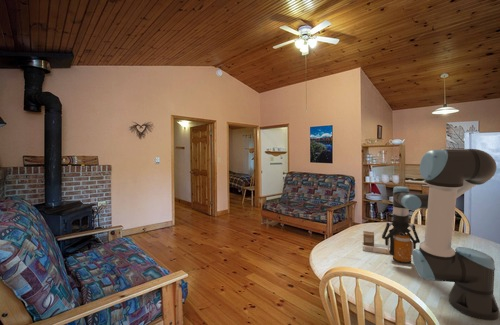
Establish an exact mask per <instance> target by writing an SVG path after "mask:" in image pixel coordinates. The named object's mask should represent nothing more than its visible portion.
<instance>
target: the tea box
mask: <svg viewBox="0 0 500 325" xmlns="http://www.w3.org/2000/svg"><path fill="white" fill-rule="evenodd" d="M362 236H363V237H362V238H363V241H362V242H363V243H362V246H363V245H366V246H374V244H375V232H374V231H367V230H364V231H363V234H362Z"/></svg>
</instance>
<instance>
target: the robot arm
mask: <svg viewBox="0 0 500 325" xmlns="http://www.w3.org/2000/svg"><path fill="white" fill-rule="evenodd" d="M497 167H498V166H497V163H496V160H495V159H494V157H493V156H492V155H491V154H489V153H488V152H486V151H484V150H481V149H476V148H463V149H461V148H460V149H458V148H456V149H454V148H447V149H445V148H444V149H443V148H440V149H432V150H429V151H428V150H427V151H426V153H424V154H423V156H421V160H420V163H419V172H420V173H419V175H420V177H421V178H422V179H423V180H424V181H425V184H426V185H427V186H428V187H429V188H428V193H410V188H409V187H407V186H402V185H401V186H399V185H398V186H394V187H393V189H392V190H393V191H392V222H390V221H386V222H385V224H386V226H385V228H384V230H383V233H382V234H381V238H382V239H383V240H385V241H384V245H387V251H388V252H389V245H390V237H391V236H392V235H391V233H390V232H389V229H390V227H391V226H392V227H393V228H394V229H393V228H391V229H393V230H395V229H396V230H397V229H398V228H399V229H401V231H406V234H408V236H410V238H411V241H412V252H411V256H412V262H413V265H414V268H415V270H416V272H417V274H418V275H419V277H420V278H421V279H423V280H427V281H432V282H435V281H436V282H449V283H454V284H453V285H452V287H451V289H450V292H449V294H448V302H449V305H451V307H453V308H454V309H456V310H457V311H459V312H460V313H463V314H465V315H467V316H470V317H473V318H476V319H480V320H485V321H486V320H487V321H492V320H493V321H495V320H497V319H499V317H500V308H499V306H498V303H497V301H496V297H495V296H494V295H495V294H494V287H495V270H496V265H495V260H494V259H493V257H492V256H491V255H489V254H487V253H485V252H483V251H480V250H477V249H474V248H471V247H465V246H456V247H455V249H453V247H452V243H453V242H452V241H453V232H454V221H455V213H456V205H457V204H456V203H457V198H459V197H461V196H462V195H464V194H465V193H467V192H468V191H470V190H471V189H472V188H474V187H475V186H479V185H484V184H485V183H487V182H488V181H489V180H491V179H492V178H493V177H494V176H495V175H496V171H497ZM419 209H420V210H426V209H427V210H426V220H425V221H426V222H425V230H424V231H425V233H424V241H421V240H420V239H419V238H420V237H419V236H418V232H417V231H416V225H415V224H414V223H412V224H410V223H409V220H410V219H409V217H410V216H409V212H410V211H416V210H419ZM409 227H410V229H411V231H412V232H413V234H414V237H413V236H412V234H411V233H410V232H408V230H407V229H409ZM393 230H392V231H393ZM387 233H388V234H387ZM393 233H394V232H393ZM417 244H419V249H417V246H416V245H417Z"/></svg>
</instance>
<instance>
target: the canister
mask: <svg viewBox="0 0 500 325" xmlns="http://www.w3.org/2000/svg"><path fill="white" fill-rule="evenodd" d="M393 229H394V228H393ZM393 229H392V228H391V229H390V230H389V229H388V233H389V232H390V233H391V235H392V236H391V237H390V238H389V245H390V251H389V253H390V254H389V255H391V256H392V260H393V261H394V262H396V263H398V264H401V265H402V264H403V265H411V264H412V254H411V252H412V242H413V241H412V240H411V238H410V236H408V234H407V233H406V231H401V229H399V228H398V229H397V230H396V229H395V230H393ZM392 230H393V231H392ZM407 230H408V232H409V233H410V232H411V231H412V229H411V230H410V228H407ZM393 232H394V233H393Z"/></svg>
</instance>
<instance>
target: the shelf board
mask: <svg viewBox="0 0 500 325" xmlns="http://www.w3.org/2000/svg"><path fill="white" fill-rule="evenodd" d="M361 243H362V251H364V252H365V251H366V252H371V253H373V252H374V253H379V254H380V253H381V254H389V255H391V254H390V253H389V252H388V251H387V245H386V244H381V243H380V244H379V243H374V246H366V245H363V241H362V242H361ZM389 251H390V244H389Z"/></svg>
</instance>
